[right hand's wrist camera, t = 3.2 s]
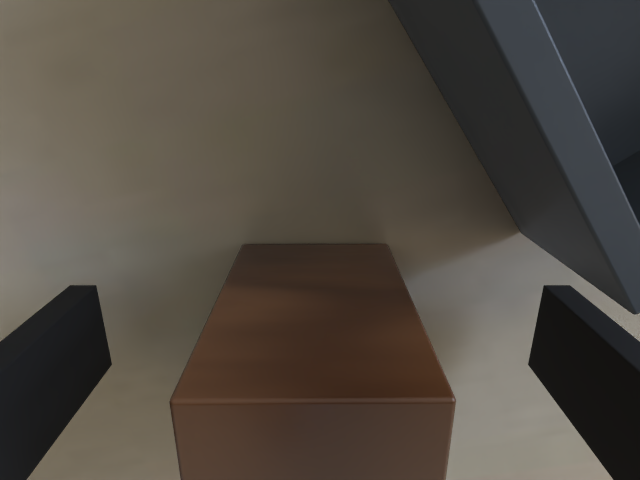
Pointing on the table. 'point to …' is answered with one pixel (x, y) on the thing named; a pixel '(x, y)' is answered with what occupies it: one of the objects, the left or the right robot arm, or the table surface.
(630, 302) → the slate tray
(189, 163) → the table surface
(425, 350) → the walnut block
